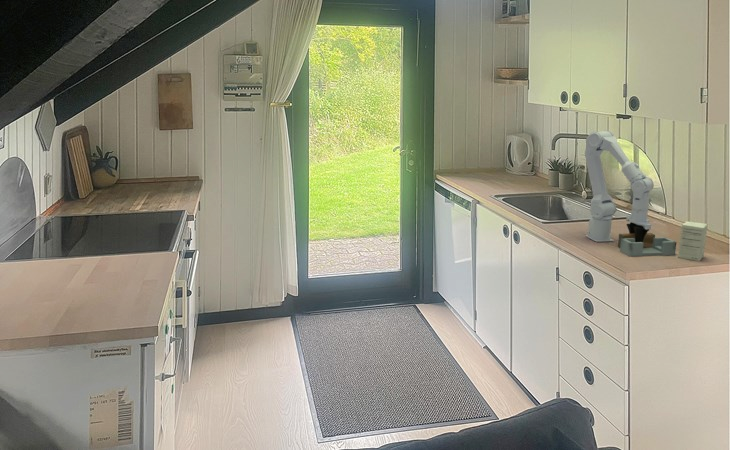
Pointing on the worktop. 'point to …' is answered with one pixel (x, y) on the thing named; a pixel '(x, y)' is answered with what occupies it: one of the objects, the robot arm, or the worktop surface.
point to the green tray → (658, 248)
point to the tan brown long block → (646, 241)
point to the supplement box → (692, 240)
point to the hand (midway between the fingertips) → (636, 243)
